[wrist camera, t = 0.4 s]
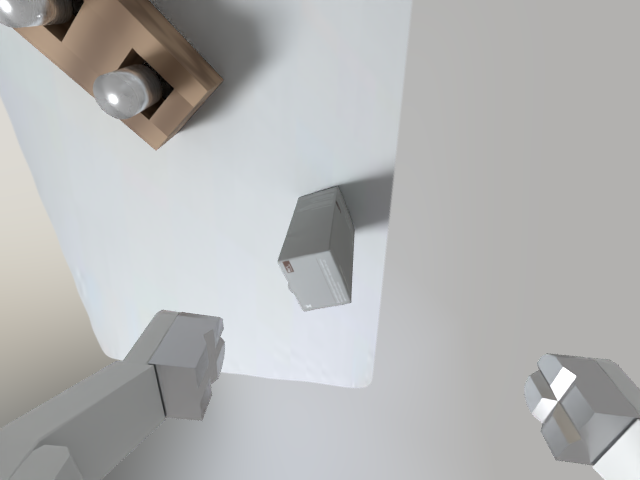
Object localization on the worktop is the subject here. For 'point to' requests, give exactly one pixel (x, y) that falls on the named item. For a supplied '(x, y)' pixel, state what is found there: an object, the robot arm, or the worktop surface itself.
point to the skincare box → (319, 251)
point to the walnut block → (130, 59)
